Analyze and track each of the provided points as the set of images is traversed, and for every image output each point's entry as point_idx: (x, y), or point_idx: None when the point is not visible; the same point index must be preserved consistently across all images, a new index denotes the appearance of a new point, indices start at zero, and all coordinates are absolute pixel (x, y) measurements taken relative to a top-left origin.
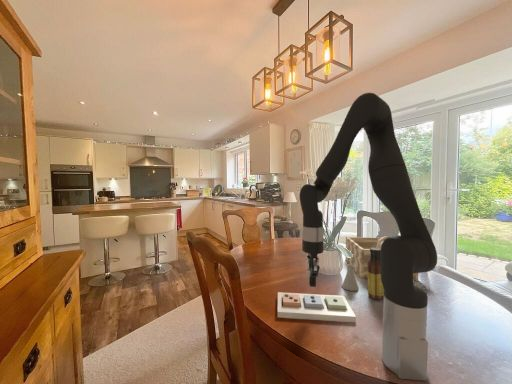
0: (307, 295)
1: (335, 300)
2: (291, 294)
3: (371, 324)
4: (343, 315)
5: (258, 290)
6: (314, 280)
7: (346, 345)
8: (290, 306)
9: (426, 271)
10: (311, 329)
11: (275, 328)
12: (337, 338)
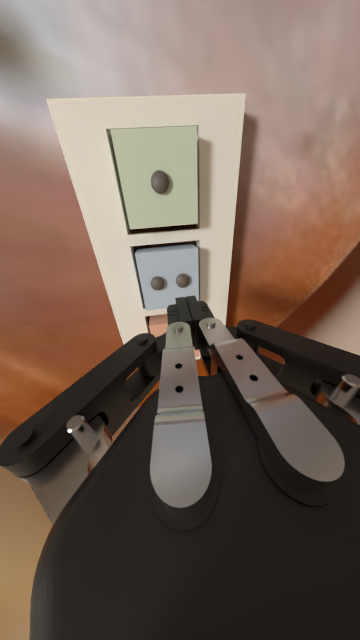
0: (146, 299)
1: (165, 182)
2: None
3: (247, 2)
4: (237, 165)
5: None
6: (212, 316)
7: (329, 192)
8: None
9: None
10: (260, 279)
11: None
12: (301, 214)
